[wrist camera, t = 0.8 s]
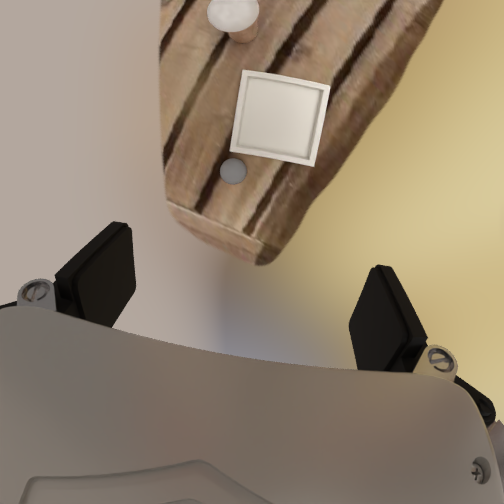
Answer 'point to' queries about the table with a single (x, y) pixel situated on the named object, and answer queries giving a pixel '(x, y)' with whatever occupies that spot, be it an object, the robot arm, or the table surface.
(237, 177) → the ball
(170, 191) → the table surface
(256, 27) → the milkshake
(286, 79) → the tray
